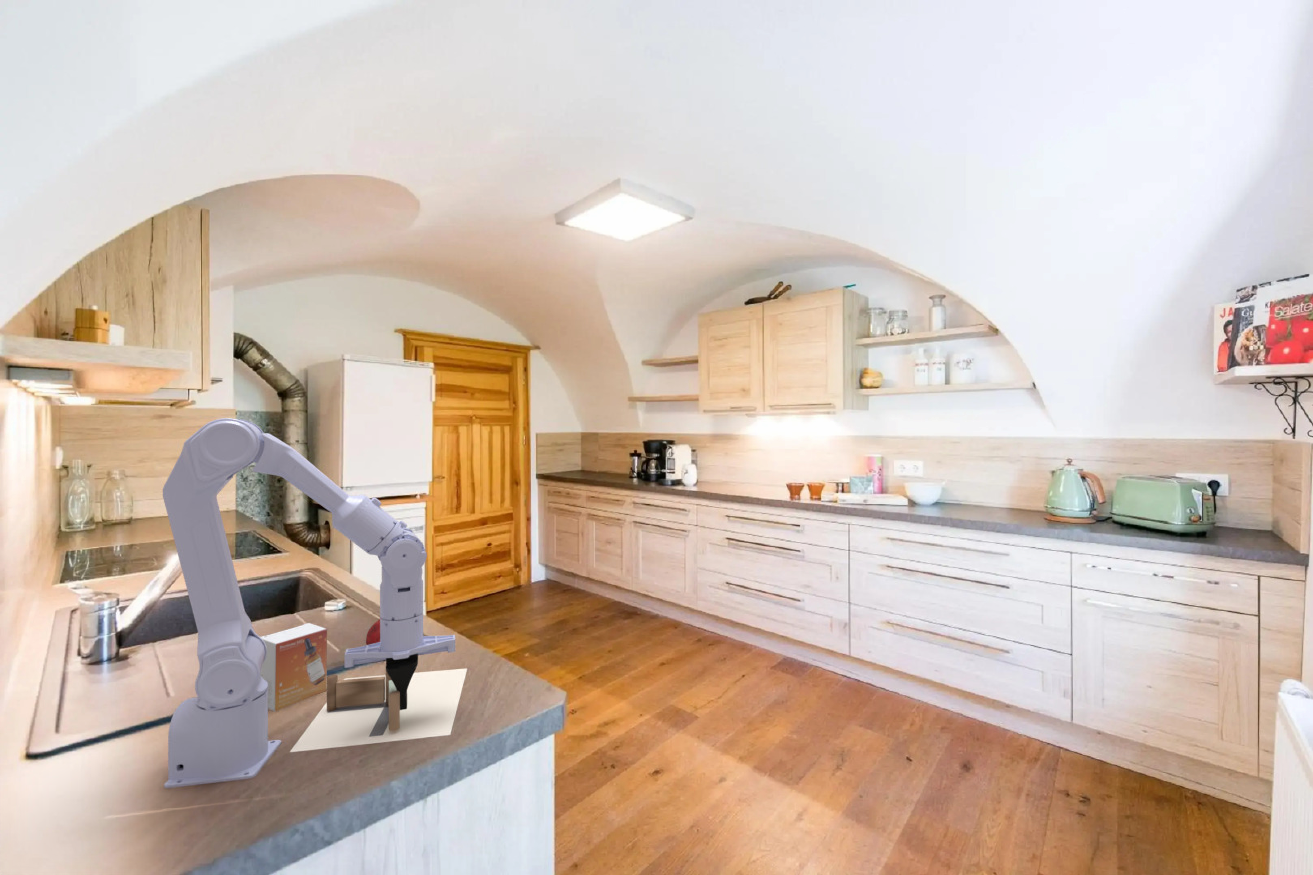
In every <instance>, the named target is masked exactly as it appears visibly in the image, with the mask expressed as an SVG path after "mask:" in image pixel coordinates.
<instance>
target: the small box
mask: <svg viewBox="0 0 1313 875" xmlns="http://www.w3.org/2000/svg"><path fill="white" fill-rule="evenodd" d="M260 637H261V638H262V639H263V641H264V642H265V644H266V647H267V654H266V658H265V660H264V662H263V664H262V668H261V677H262V678H263V679H264V680H266V681H267V683H268V710H270V711H271V712H277V711H279V710H281V709H284V708H286V707H290V706H291V705H294V704H296V703H299V702H301V701H304V700H307V699H309V698H311V697H315V696H317V695H319V694H322V693H324V692H327V677H328V676H327V675H328V674H327V671H328V670H327V668H328V667H327V666H328V663H327V661H328V628H325V627H323V626H320V625H316V624H313V623H310V622H307V623H304V624H301V625H299V626H295V627H293V628H292V627H291V628H289V629H285V630H281V631H278V632H277V631H276V632H275V633H271V634H267V635H263V636H260Z"/></svg>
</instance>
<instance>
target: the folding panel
mask: <svg viewBox="0 0 1313 875" xmlns="http://www.w3.org/2000/svg"><path fill="white" fill-rule="evenodd" d="M399 728H400V692H399V691H397V690H396V687H395V685H394V683H393V681H392V680H389V731H396V730H398V729H399Z"/></svg>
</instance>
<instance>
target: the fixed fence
mask: <svg viewBox="0 0 1313 875" xmlns="http://www.w3.org/2000/svg"><path fill="white" fill-rule="evenodd" d="M385 675H386V706H389V680H391V678H390V676H389V675H388V673H387V671H386V670H385ZM338 677H339V676H338V674H331V675H328V676H327V688H326V703H327V712H328V711H329V712H331V711H335V710H336V709H337V707H346V706H357V705H368V704H378V703H384V701H385V676H383V677H371V678H359V679H347V680H344V679H339V680H338Z"/></svg>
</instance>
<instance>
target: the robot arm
mask: <svg viewBox="0 0 1313 875" xmlns="http://www.w3.org/2000/svg"><path fill="white" fill-rule="evenodd" d="M253 463H255V465H254V467H253V469H252V472H253V473H260V474H265V475H271V476H272V475H273V476H277V477H278V476H279V477H281V478H283V479H284V480H285V481H287V482H288V483H290V484H291V485H292V486H294V487H295V488H296V489H298V490H299V491H301V492H302V493H304V494H305V495H306V496H308V497H309V498H311V499H312V500H313V501H314V502H316V503H317V504H319V505H320V506H322V507H323V508H324V509H326V510H327V511H329V512H330V513H331V524H332V525H331V526H332V528H334V529H335V530H336V531H338V532H339V533H340V534H341V535H343V536H344V537H346V538H347V539H348V540H349V541H351V542H353V544H355V545H356V546H357V547H358V548H360V549H362V550H363V552H365V553H367V554H368V555H372V556H377V558H378V560H379V561H380V564H381V582H380V585H379V619H380V642H378V643H374V644H370V645H366V644H365V645H363V646H359V647H358V646H357V647H353V648H351V647H350V648H346V650H345V653H344V668H345V669H346V668H352V667H354V666H355V665H360V664H361V665H362V664H368V663H375V662H382V661H385V662H386V663H385V672H386V671H387V673H388V675H389V676H390V678H391V680H392V681H393V683H394V685H395V687H396V690H397V691H399V692H400V710H404V709H407V689H408V686H409V683H410V681H411V678H412V676H413V674H414V673H416V669H417V667H418V664H419V656H424V655H429V654H439V653H446V652H447V653H456V634H451V635H450V634H448V635H424V580H423V579H422V577H423V566H424V565H425V562H426V561H427V557H428V554H427V552H426V548H425V546H424V542H422V541H421V540H420V538H419V537H418V535H416V534H415V533H414V531H413V529H411V528H407V527H408V524H407V523H406V522H405V521H403V520H400V521H399V520H397V519H396V518H394V516H392V515H390V514H389V513H388V512H387V511H386V510H385V509H383V508H382V507H381V505H382V502H381V501H380V500H379V499H378V498H377V497H372V498H370V497H368V496H367V495H366V494H359V495H357V494H355V495H352V494H351V495H350V494H348V493H347V492H346V491H344V490H343V489H342V488H341V487H340V486H339V485H337V484H336V483H335V482H334V481H333V480H331V479H330V478H329V477H328V476H327V475H326V474H325V473H323V472H322V471H321V470H319V469H318V467H316V466H315V465H314V464H313V463H312V462H310V461H309V460H308V459H306V458H305V456H303V455H302V454H301V453H300V452H298V451H297V450H296V449H294V447H292V446H290V445H289V444H287V442H284V441H282V440H281V439H279V438H278V437H276V436H274V435H273V434H271V433H269V432H268V433H264V431H263V430H262V429H261V427H259V425H257V424H255V423H254V422H251V421H249V420H247V419H240V418H231V417H228V418H227V417H223V418H217V419H214V420H211V421H208V422H207V423H206V424H204V425H203V426H202V427H200V428H199V429H198V430H197V431H196V432H195V433H194V434H192V435H190V437H189V438H187V439H186V440H185V441H184V442H183V446H182V449H181V452H180V454H179V456H178V458H177V460H176V462H175V464H174V466H173V468H172V469H171V471H170V474H169V476H167V479H166V481H165V484H164V485H163V488H162V498H163V502H164V507H165V510H166V513H167V514H166V515H167V517H168V521H169V525H170V529H171V530H170V531H171V532H172V536H173V540H174V545H175V549H176V552H177V555H178V560H179V563H180V568H181V571H182V575H183V579H184V583H185V587H186V592H187V594H188V598H189V602H190V605H191V610H192V614H193V618H194V621H195V626H196V629H197V646H196V647H197V651H196V652H197V653H196V654H197V655H196V656H197V660H198V664H199V668H198V669H199V670H198V673H197V676H196V679H195V683H194V691H195V694H196V697H191V698H186V699H184V700H183V701H181V703H180V704H179V705H178V706H177V707H176V709H175V711H174V713H173V715H172V717H171V720H170V724H169V728H168V743H167V744H168V746H167V748H168V749H167V750H168V753H167V755H168V758H167V759H168V761H167V762H168V764H167V765H168V768H167V770H168V772H167V773H168V774H167V778H168V780H167V781H166V782H165V783H164V784H163V785H164V786H163V787H164V788H165V789H170V788H179V787H188V786H197V785H205V784H213V783H223V782H224V783H225V782H229V781H231V782H232V781H241V780H247V779H252V778H255V777H256V776H257V775H258V773H259V772H260V771H261V769H263V767H264V766H265V764H266V763H267V762H268V761H269V759H270V758H271V757H272V755H273V754H274V753H275V751H276V750H278V748H279V747H280V746H281V744H282V740H280V739H275V740H274V739H273V740H269V709H268V683H267V681H266V680H264V679H263V678H262V677H261V668H262V664H263V662H264V660H265V658H266V654H267V647H266V644H265V642H264V641H263V639H262V638H261V636H259V634H258V633H256V632H255V630H254V627H253V625H252V621H251V619H250V617H249V616H248V614H247V612H246V611H245V610H246V609H245V607H244V602H243V598H242V594H241V590H240V586H239V582H238V578H237V575H236V574H237V573H236V570H235V566H234V562H233V558H232V554H231V550H230V546H229V543H228V538H227V534H226V530H225V525H224V522H223V518H222V515H221V510H220V507H219V506H220V505H219V502H218V498H217V496H218V494H219V493H220V492H222V490H223V489H224V487H226V486H227V485H228V484H229V483H230V481H231V480H232V479H233V478H234V476H235V475H236V474H237V473H238V472H240V471H242V470H244V469H245V468H247V467H248V466H250V465H251V464H253Z"/></svg>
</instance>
